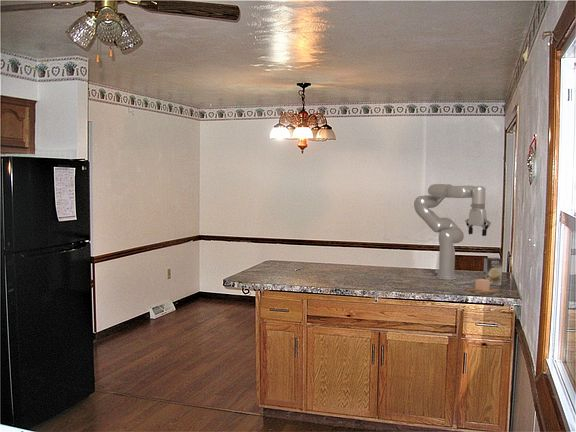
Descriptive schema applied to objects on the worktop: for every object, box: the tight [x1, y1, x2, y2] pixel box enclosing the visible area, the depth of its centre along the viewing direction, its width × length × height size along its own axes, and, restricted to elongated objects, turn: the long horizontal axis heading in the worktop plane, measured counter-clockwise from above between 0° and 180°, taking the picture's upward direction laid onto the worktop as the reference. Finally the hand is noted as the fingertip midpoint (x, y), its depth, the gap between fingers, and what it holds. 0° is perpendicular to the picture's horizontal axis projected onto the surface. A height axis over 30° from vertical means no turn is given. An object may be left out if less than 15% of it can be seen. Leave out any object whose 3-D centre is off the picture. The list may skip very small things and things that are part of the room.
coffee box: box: [482, 257, 503, 286], centre depth 338 cm, size 9×6×16 cm
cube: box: [474, 278, 491, 291], centre depth 319 cm, size 6×6×6 cm
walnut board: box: [464, 286, 502, 296], centre depth 319 cm, size 14×14×1 cm
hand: (477, 234), depth 336 cm, fingers open, 9 cm apart
